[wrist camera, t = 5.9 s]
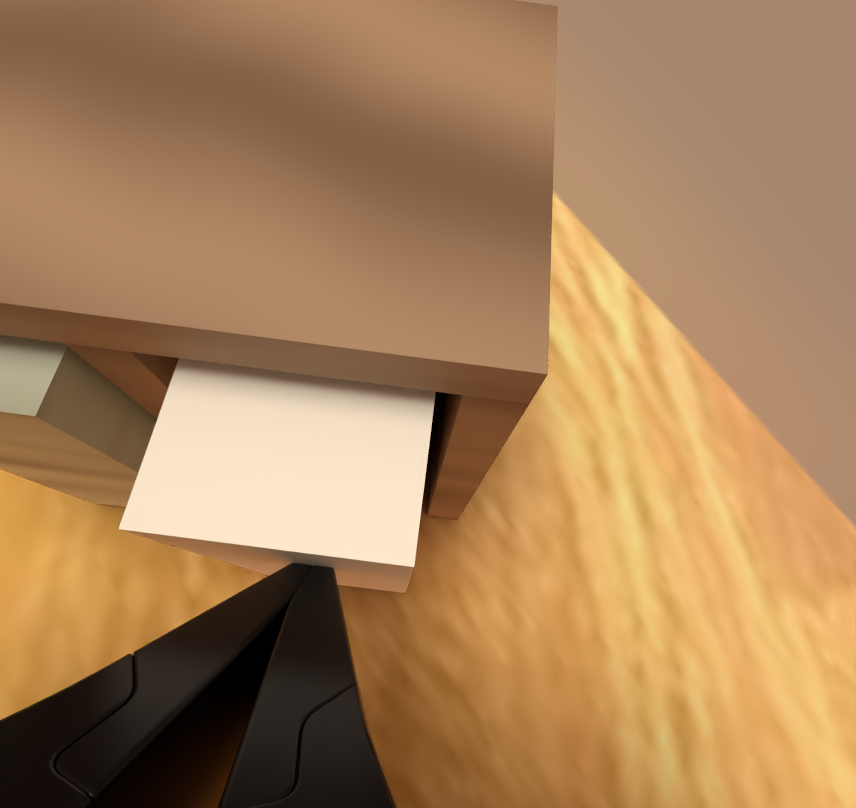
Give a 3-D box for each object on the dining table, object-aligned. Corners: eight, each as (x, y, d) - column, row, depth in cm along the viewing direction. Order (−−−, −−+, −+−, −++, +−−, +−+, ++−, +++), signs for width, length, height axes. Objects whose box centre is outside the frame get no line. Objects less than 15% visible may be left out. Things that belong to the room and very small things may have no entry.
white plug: (405, 593, 15) (413, 566, 7) (268, 575, 15) (118, 529, 7) (445, 274, 20) (479, 34, 12) (341, 260, 20) (301, 11, 12)
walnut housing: (454, 551, 16) (545, 446, 6) (53, 499, 16) (-508, 309, 6) (476, 315, 20) (557, 6, 10) (147, 272, 20) (-113, -85, 10)
